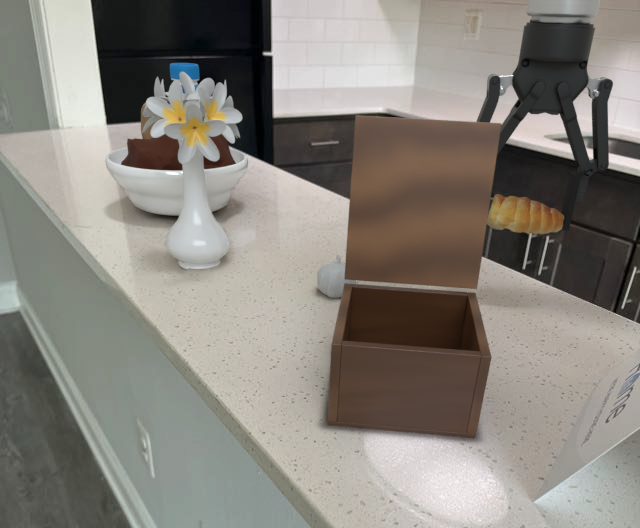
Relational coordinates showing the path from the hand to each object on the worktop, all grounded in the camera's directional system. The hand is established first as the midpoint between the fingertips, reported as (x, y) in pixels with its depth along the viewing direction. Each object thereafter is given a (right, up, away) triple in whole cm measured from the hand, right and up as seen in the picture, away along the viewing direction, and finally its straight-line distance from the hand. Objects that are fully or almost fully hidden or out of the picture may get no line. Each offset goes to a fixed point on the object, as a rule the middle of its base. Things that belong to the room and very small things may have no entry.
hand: (522, 225), depth 84 cm
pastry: (-1, 0, 0) cm, 1 cm away
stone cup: (-60, +28, +58) cm, 88 cm away
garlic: (-24, -8, +6) cm, 26 cm away
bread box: (-18, -23, -16) cm, 33 cm away
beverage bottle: (-58, +42, +80) cm, 108 cm away
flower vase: (-43, -2, +14) cm, 46 cm away
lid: (-16, -4, -19) cm, 25 cm away
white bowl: (-52, +14, +38) cm, 66 cm away
